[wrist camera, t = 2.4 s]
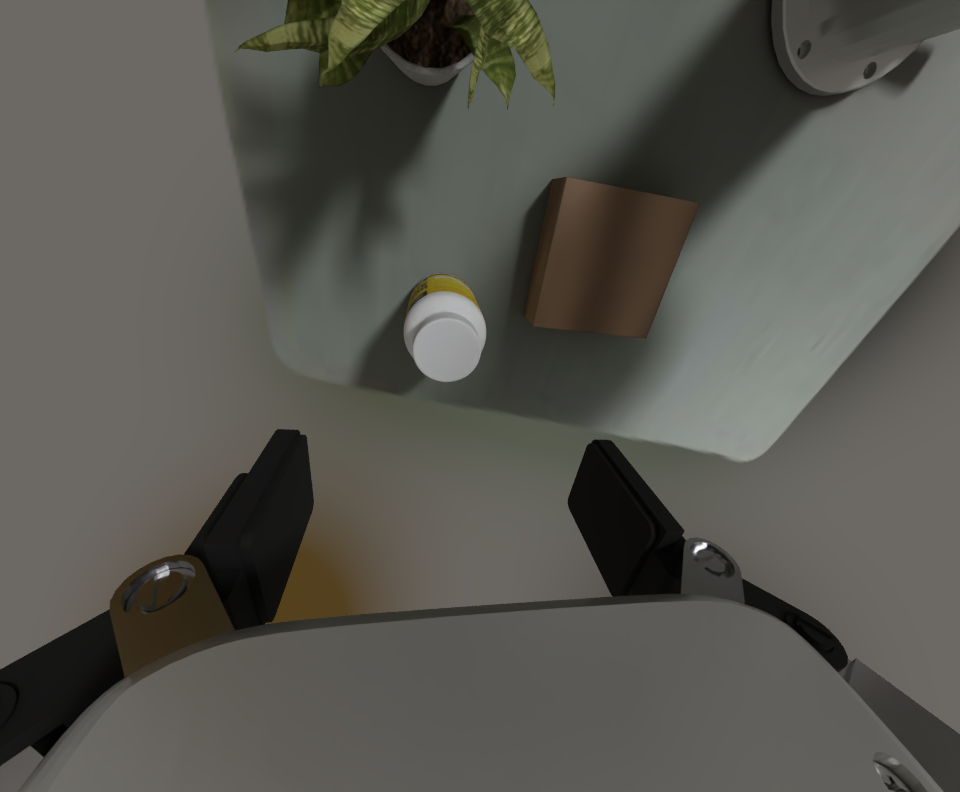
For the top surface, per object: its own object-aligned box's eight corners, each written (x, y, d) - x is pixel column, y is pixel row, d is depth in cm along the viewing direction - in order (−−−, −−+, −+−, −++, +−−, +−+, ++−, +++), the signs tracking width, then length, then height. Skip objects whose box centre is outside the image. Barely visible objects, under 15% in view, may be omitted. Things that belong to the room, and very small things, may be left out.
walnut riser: (673, 202, 26) (700, 203, 24) (627, 326, 31) (646, 338, 29) (552, 179, 25) (567, 176, 22) (523, 315, 29) (532, 326, 27)
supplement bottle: (418, 261, 26) (415, 290, 18) (484, 285, 28) (509, 322, 19) (400, 326, 28) (390, 380, 20) (461, 345, 30) (476, 402, 22)
